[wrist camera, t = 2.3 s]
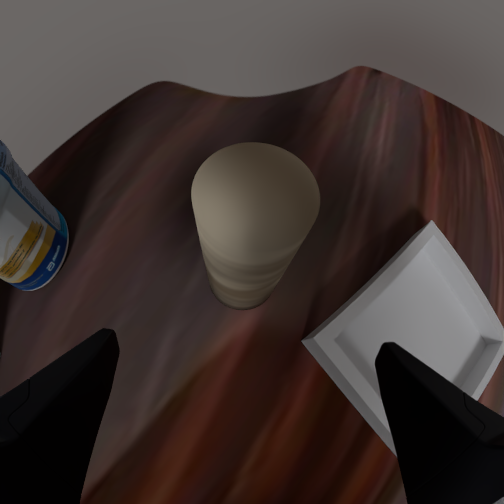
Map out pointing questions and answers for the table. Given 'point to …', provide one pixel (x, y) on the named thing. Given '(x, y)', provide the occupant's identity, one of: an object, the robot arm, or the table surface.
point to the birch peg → (252, 218)
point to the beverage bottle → (28, 229)
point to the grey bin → (411, 326)
